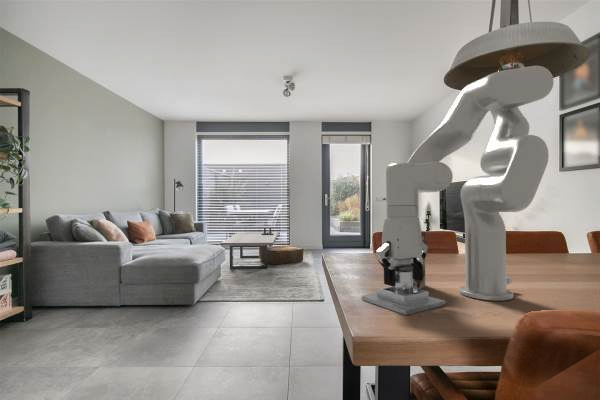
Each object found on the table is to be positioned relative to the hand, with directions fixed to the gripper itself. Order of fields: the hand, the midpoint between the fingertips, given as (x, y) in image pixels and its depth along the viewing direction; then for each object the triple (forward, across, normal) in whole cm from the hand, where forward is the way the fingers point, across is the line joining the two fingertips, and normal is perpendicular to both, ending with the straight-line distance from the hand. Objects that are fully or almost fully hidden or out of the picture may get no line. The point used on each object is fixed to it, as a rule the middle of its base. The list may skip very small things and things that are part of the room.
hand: (403, 282), depth 83 cm
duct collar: (+5, 0, 0) cm, 5 cm away
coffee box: (+5, -14, -9) cm, 17 cm away
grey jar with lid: (+4, 0, 0) cm, 4 cm away
